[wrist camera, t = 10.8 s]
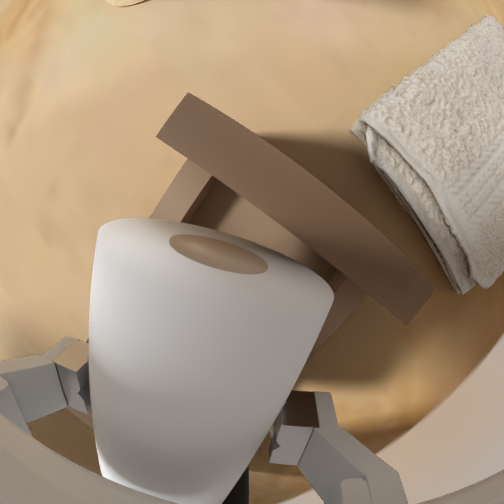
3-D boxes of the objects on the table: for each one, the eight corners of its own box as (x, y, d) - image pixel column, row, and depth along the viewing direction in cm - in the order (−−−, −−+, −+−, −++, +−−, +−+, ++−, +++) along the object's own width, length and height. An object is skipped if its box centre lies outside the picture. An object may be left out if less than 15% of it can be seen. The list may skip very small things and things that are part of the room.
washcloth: (331, 138, 13) (347, 123, 10) (475, 17, 9) (495, 1, 6) (452, 300, 14) (480, 320, 11) (554, 141, 10) (578, 140, 7)
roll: (254, 479, 9) (159, 545, 4) (172, 409, 12) (77, 442, 7) (362, 288, 7) (222, 349, 3) (219, 223, 10) (69, 209, 5)
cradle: (217, 418, 16) (198, 490, 10) (101, 338, 15) (45, 389, 9) (374, 248, 13) (436, 286, 7) (225, 134, 12) (188, 92, 7)
